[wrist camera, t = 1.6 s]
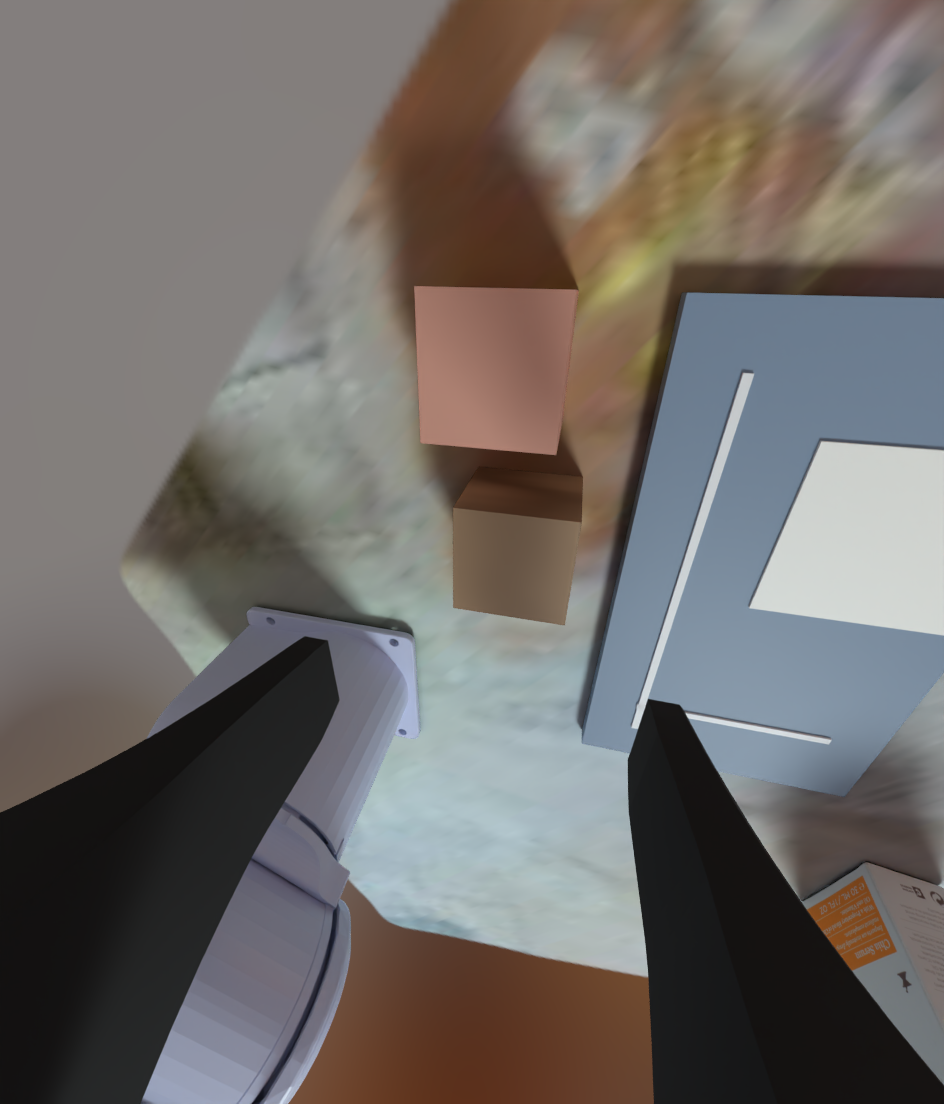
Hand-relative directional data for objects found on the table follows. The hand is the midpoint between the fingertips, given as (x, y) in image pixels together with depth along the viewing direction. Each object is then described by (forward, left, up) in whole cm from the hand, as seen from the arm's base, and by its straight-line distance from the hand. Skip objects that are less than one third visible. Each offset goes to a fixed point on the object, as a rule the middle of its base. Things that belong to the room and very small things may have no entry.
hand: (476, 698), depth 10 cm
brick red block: (-1, +6, -10) cm, 11 cm away
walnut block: (0, 0, -10) cm, 10 cm away
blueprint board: (+10, -2, -9) cm, 14 cm away
